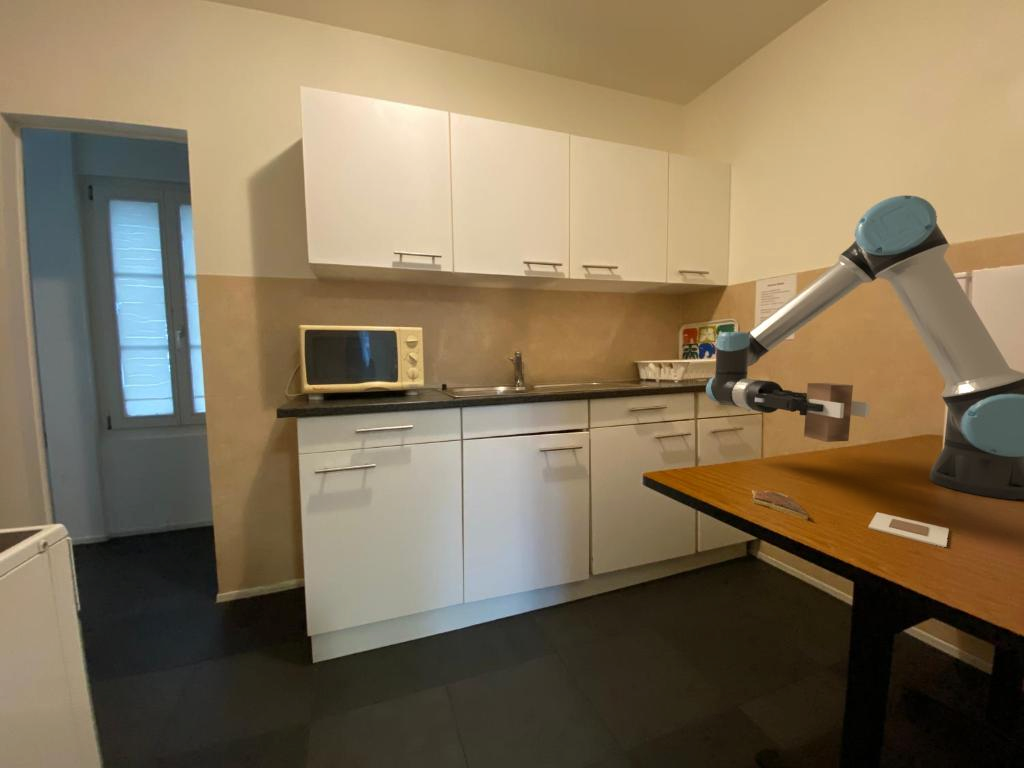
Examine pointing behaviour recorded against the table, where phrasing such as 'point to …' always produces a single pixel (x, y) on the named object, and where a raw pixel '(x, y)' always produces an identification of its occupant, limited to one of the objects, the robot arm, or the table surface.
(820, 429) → the walnut block
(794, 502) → the shard
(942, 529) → the swatch
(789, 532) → the table surface
